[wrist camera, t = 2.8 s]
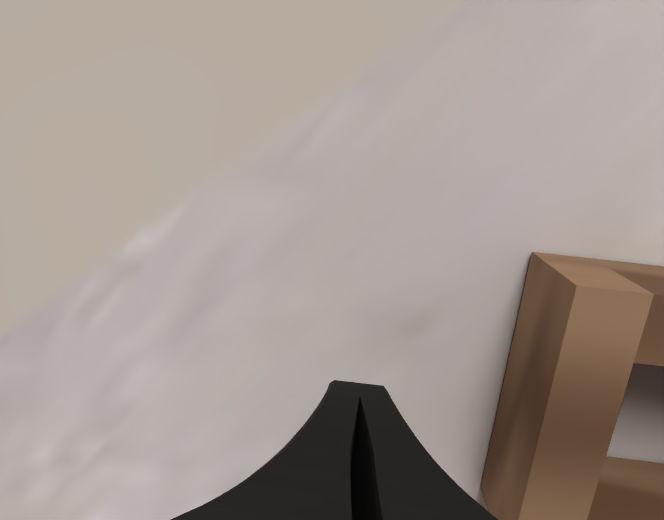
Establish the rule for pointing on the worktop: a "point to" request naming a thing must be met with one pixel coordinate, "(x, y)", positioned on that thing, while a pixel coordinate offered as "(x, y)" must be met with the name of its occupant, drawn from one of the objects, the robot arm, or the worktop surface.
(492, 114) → the worktop surface
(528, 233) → the worktop surface
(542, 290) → the brown square frame
